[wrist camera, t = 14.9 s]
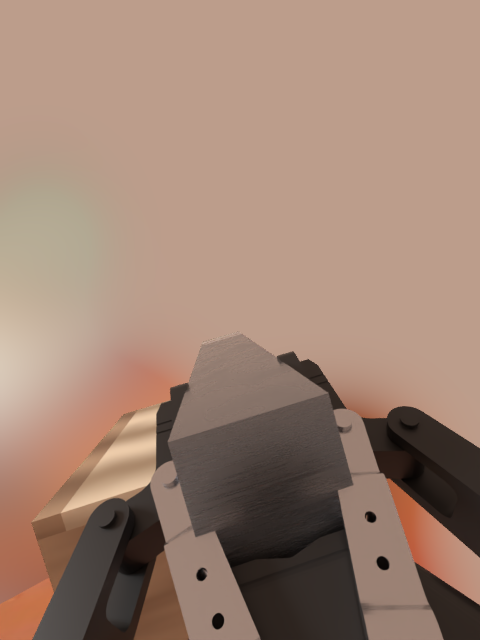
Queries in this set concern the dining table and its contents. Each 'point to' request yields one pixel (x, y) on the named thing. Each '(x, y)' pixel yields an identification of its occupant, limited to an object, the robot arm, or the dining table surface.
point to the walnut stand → (99, 486)
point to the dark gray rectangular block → (257, 453)
